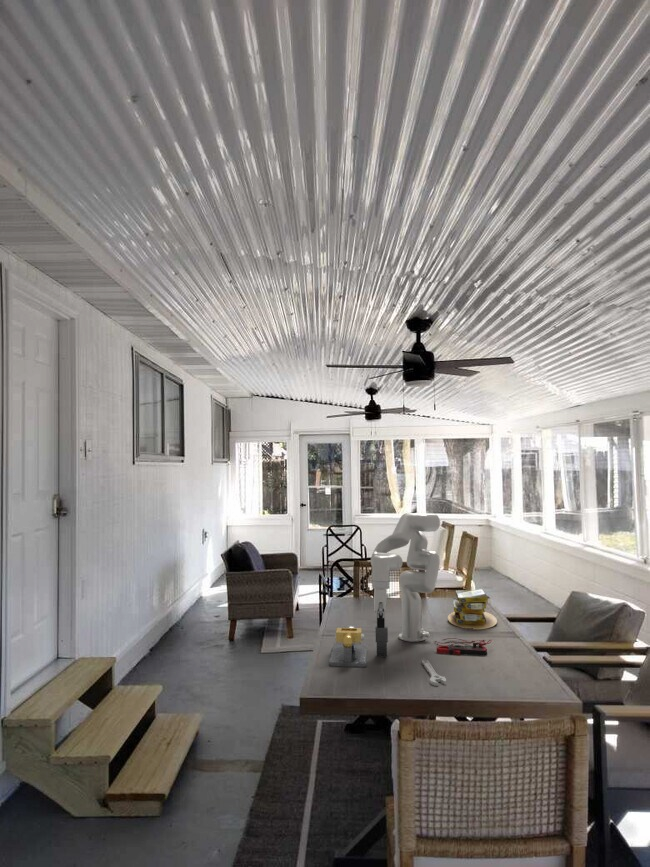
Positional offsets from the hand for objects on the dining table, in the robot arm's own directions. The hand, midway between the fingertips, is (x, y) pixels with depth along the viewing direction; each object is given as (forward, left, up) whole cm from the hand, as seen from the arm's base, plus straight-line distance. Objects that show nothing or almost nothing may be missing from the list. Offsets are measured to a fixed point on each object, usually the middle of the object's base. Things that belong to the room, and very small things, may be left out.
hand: (380, 624), depth 237 cm
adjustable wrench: (-27, +7, -14) cm, 31 cm away
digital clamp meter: (-26, -31, -14) cm, 42 cm away
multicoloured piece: (+12, +8, -13) cm, 19 cm away
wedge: (0, -1, -13) cm, 13 cm away
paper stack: (-17, -72, -14) cm, 76 cm away
